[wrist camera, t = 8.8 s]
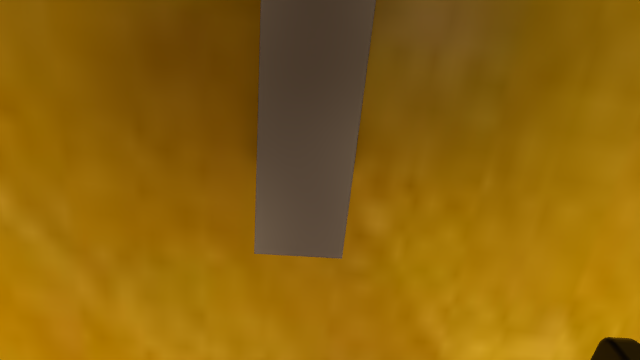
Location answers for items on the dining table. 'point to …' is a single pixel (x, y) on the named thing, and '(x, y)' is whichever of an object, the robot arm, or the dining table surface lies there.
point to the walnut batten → (308, 122)
